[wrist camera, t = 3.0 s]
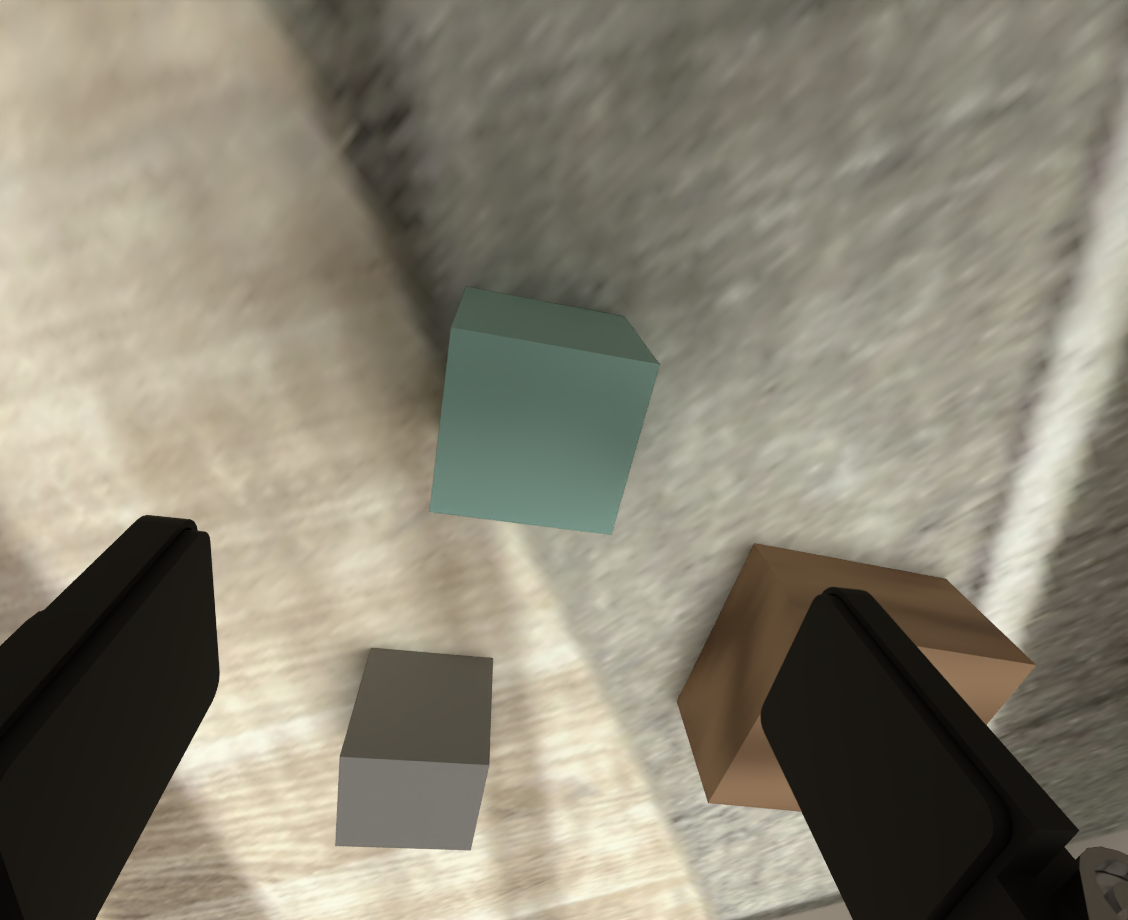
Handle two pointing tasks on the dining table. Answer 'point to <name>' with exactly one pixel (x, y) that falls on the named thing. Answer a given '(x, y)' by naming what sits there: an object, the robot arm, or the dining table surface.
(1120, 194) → the dining table surface
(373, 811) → the grey cube
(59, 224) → the dining table surface
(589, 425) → the teal cube
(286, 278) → the dining table surface
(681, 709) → the walnut block
